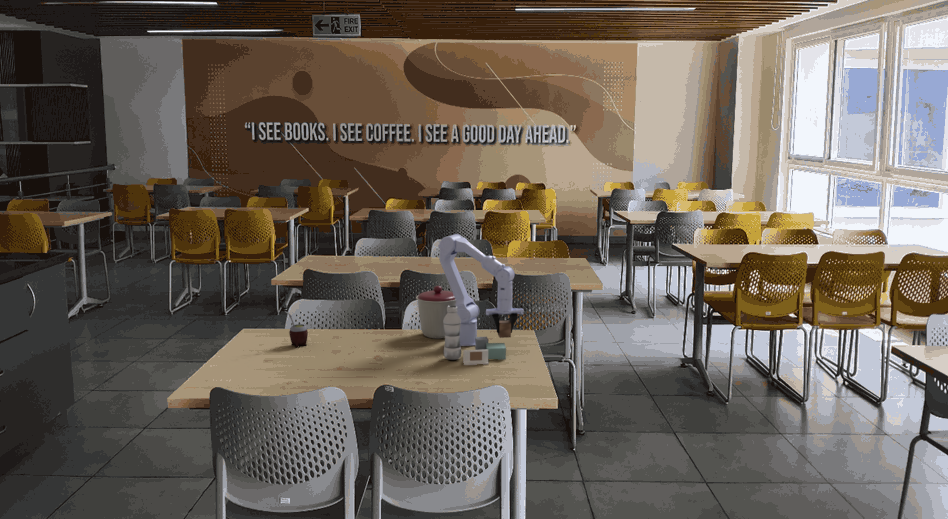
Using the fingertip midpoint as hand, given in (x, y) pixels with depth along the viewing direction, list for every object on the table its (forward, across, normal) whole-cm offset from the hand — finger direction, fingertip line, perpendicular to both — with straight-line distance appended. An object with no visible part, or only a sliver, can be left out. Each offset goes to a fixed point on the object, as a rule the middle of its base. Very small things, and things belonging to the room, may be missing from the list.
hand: (504, 332), depth 278 cm
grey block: (+6, -9, -5) cm, 12 cm away
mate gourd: (+7, -80, +12) cm, 82 cm away
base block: (+7, -5, -11) cm, 13 cm away
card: (+6, -13, -18) cm, 23 cm away
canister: (+7, -24, +21) cm, 33 cm away
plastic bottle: (+7, -21, -12) cm, 25 cm away
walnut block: (+2, 0, 0) cm, 2 cm away
